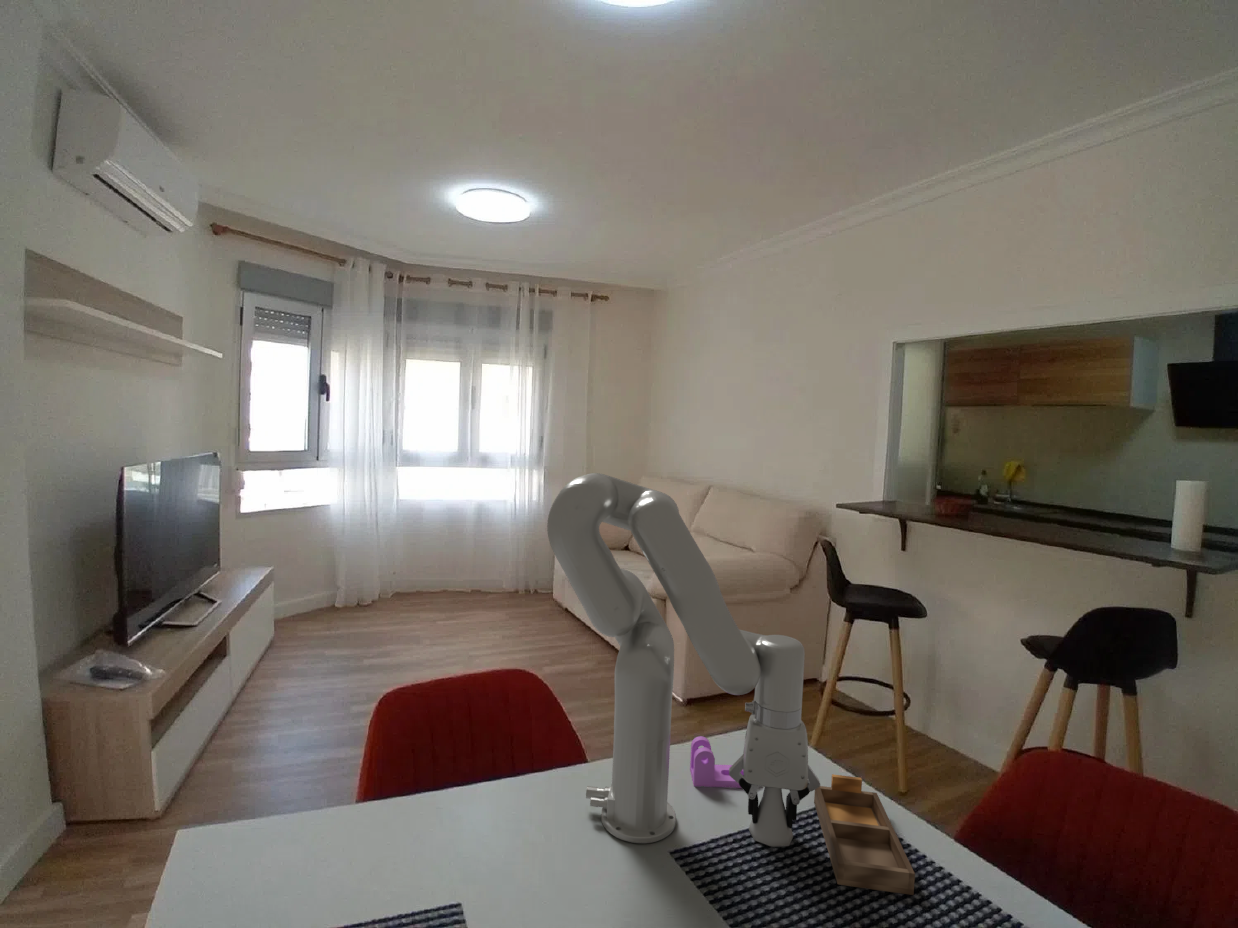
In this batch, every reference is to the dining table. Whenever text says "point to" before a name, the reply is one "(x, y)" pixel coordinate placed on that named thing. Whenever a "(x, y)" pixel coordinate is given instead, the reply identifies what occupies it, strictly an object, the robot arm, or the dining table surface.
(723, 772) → the bracket
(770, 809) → the flask
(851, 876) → the divided wooden tray
